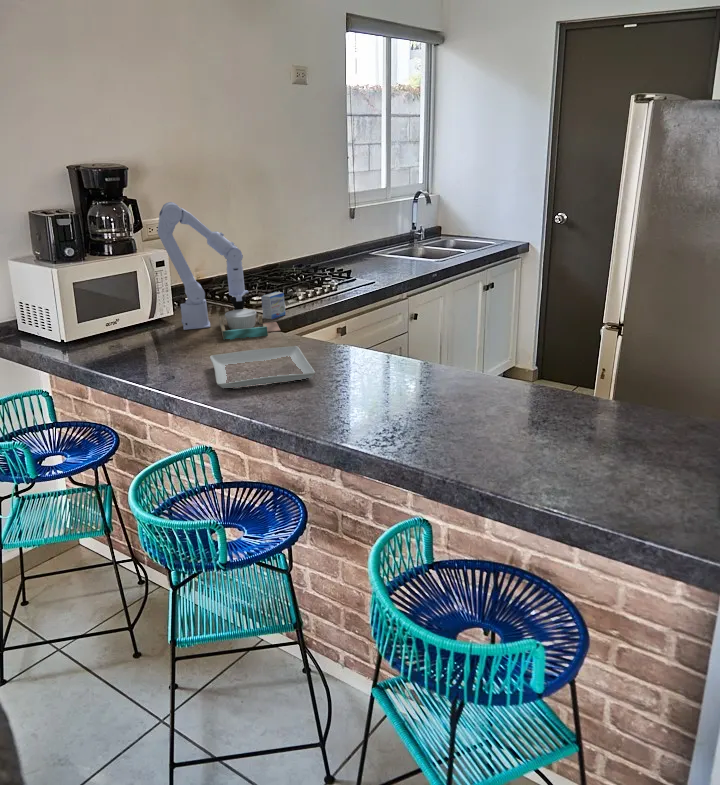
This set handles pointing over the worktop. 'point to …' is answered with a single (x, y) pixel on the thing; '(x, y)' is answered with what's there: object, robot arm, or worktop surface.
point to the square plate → (260, 355)
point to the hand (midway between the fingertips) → (239, 316)
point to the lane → (249, 330)
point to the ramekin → (241, 319)
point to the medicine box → (273, 305)
